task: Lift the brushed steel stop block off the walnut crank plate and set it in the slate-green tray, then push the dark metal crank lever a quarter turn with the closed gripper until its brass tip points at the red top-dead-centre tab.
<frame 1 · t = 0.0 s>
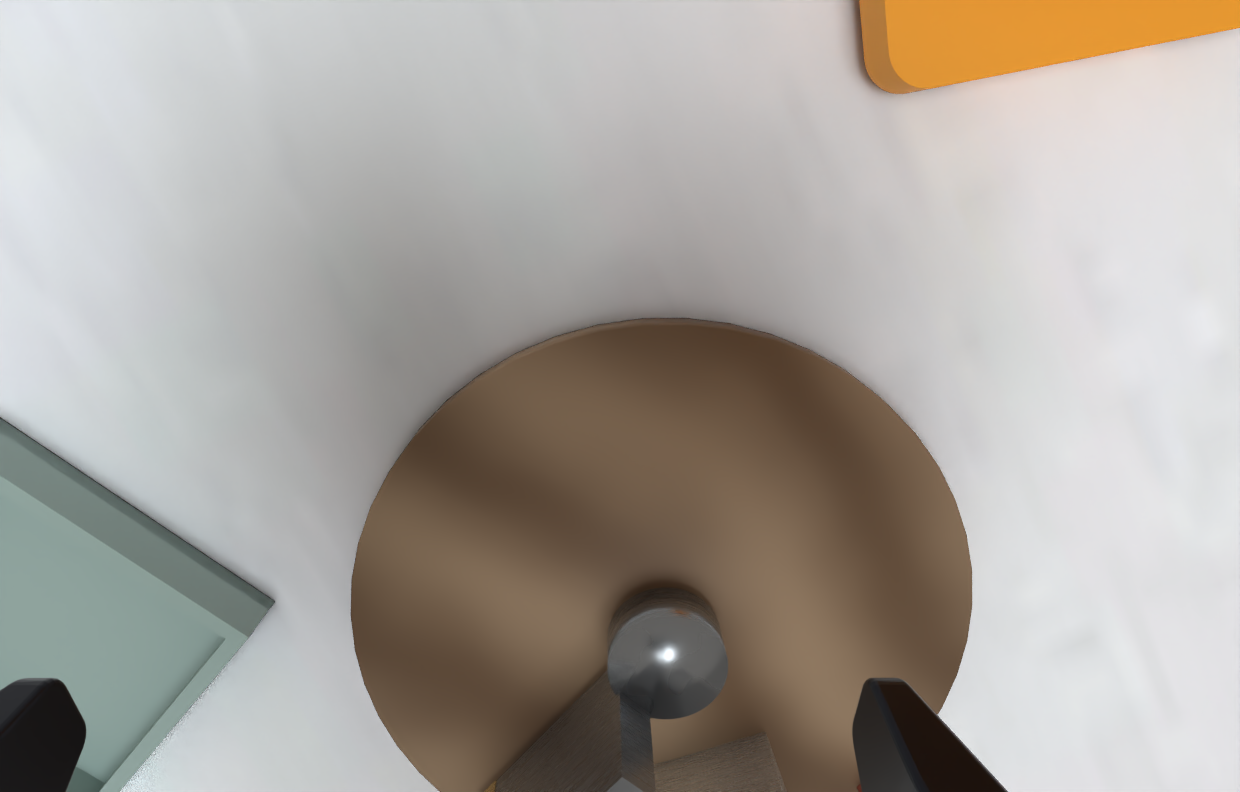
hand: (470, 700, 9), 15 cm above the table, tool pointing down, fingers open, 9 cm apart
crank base: (660, 610, 26), on the table
tray: (62, 617, 26), on the table
crank: (589, 767, 23), point 4 cm above the table, hinge at 0.0°
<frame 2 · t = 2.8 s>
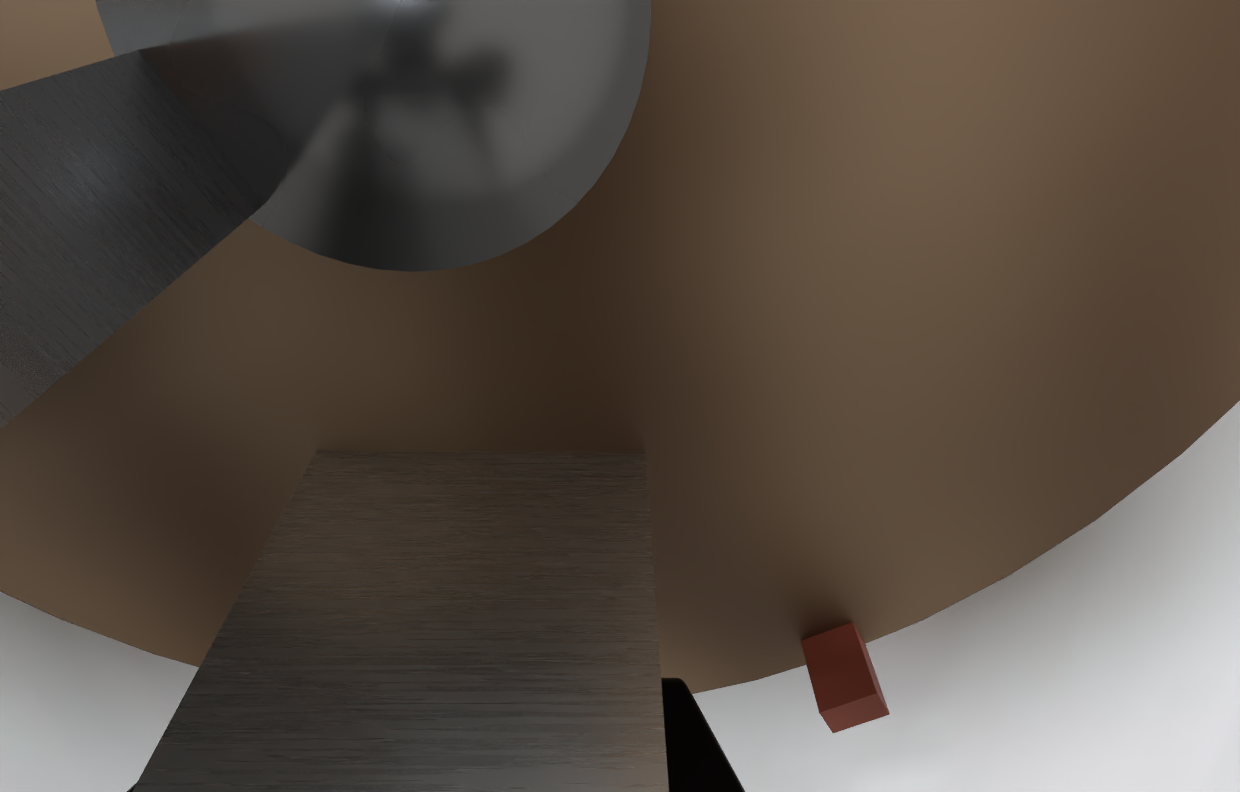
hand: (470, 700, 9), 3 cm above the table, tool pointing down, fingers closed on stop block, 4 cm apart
stop block: (492, 572, 11), point 1 cm above the table, touching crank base, gripper
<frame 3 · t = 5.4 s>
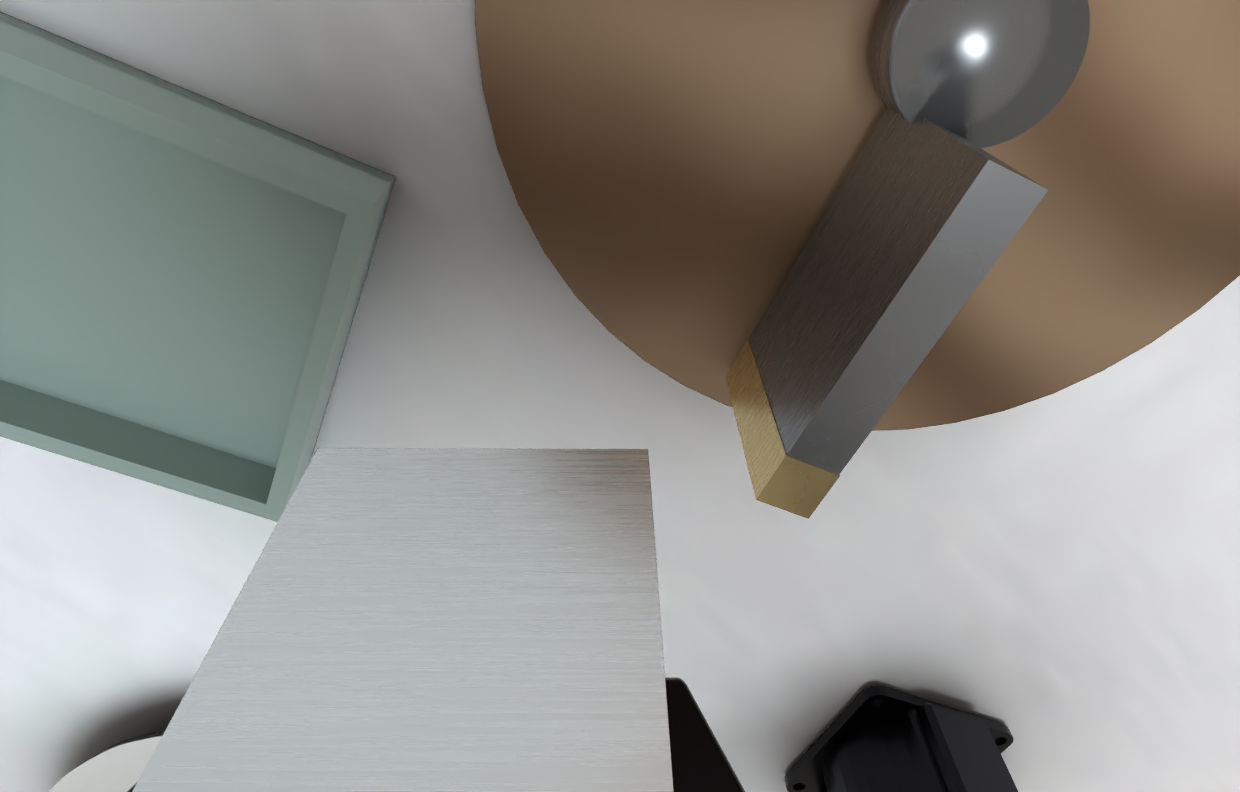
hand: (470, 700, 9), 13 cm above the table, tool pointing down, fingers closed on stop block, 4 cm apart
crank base: (933, 32, 17), on the table
tray: (153, 275, 20), on the table
stop block: (495, 569, 11), point 11 cm above the table, touching gripper
crank: (895, 236, 16), point 4 cm above the table, hinge at 0.0°
when the fingers open (4 cm above the table, at t = 8.3 s): stop block drops 1 cm, resting on tray.
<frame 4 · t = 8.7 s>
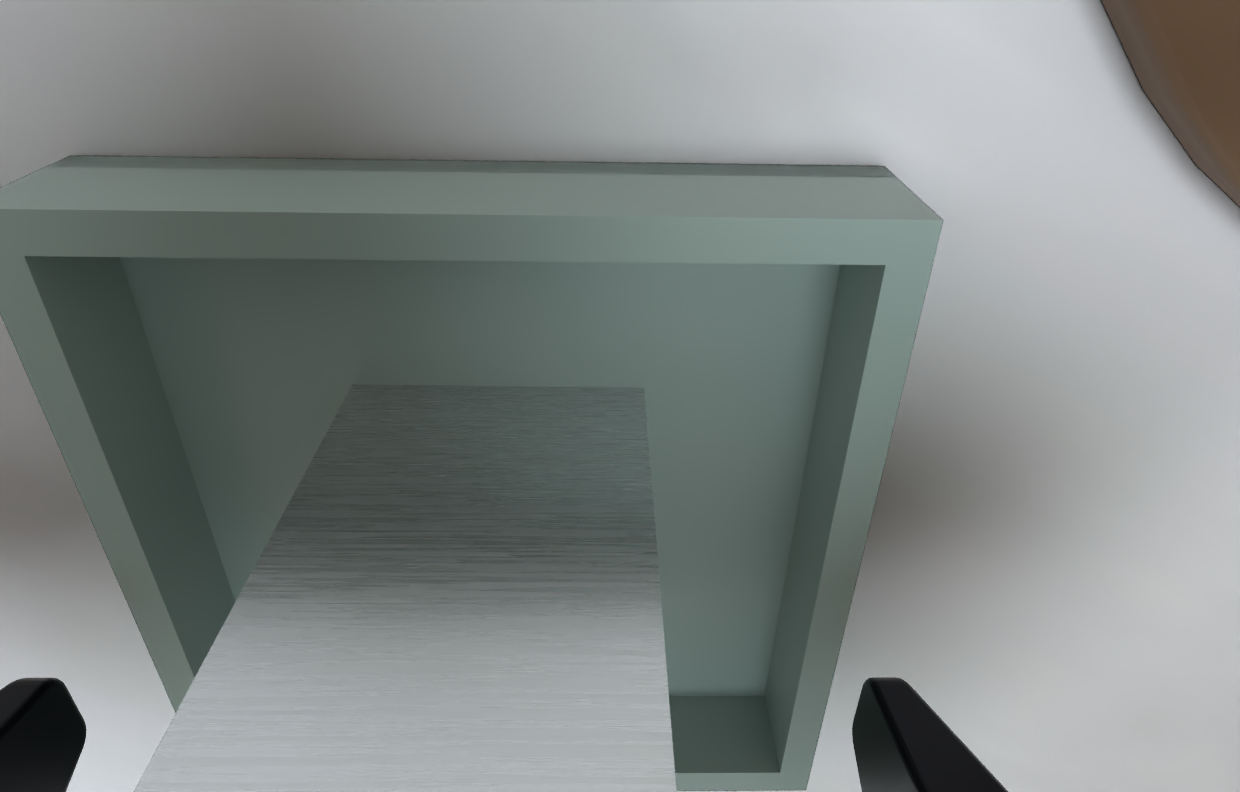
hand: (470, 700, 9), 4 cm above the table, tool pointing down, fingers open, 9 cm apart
tray: (506, 482, 12), on the table
stop block: (506, 499, 12), resting on tray
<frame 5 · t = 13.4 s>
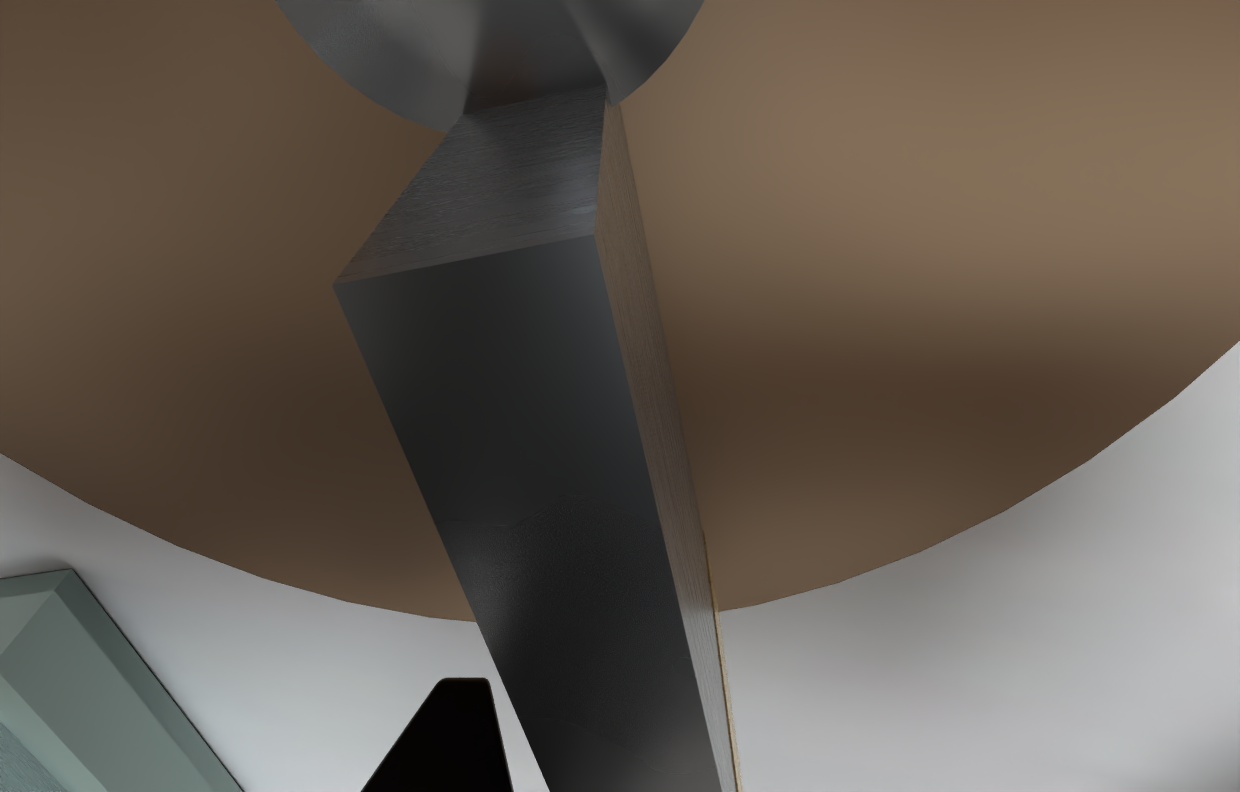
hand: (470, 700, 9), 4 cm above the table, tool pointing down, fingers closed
crank: (587, 375, 7), point 4 cm above the table, hinge at 0.7°, touching gripper
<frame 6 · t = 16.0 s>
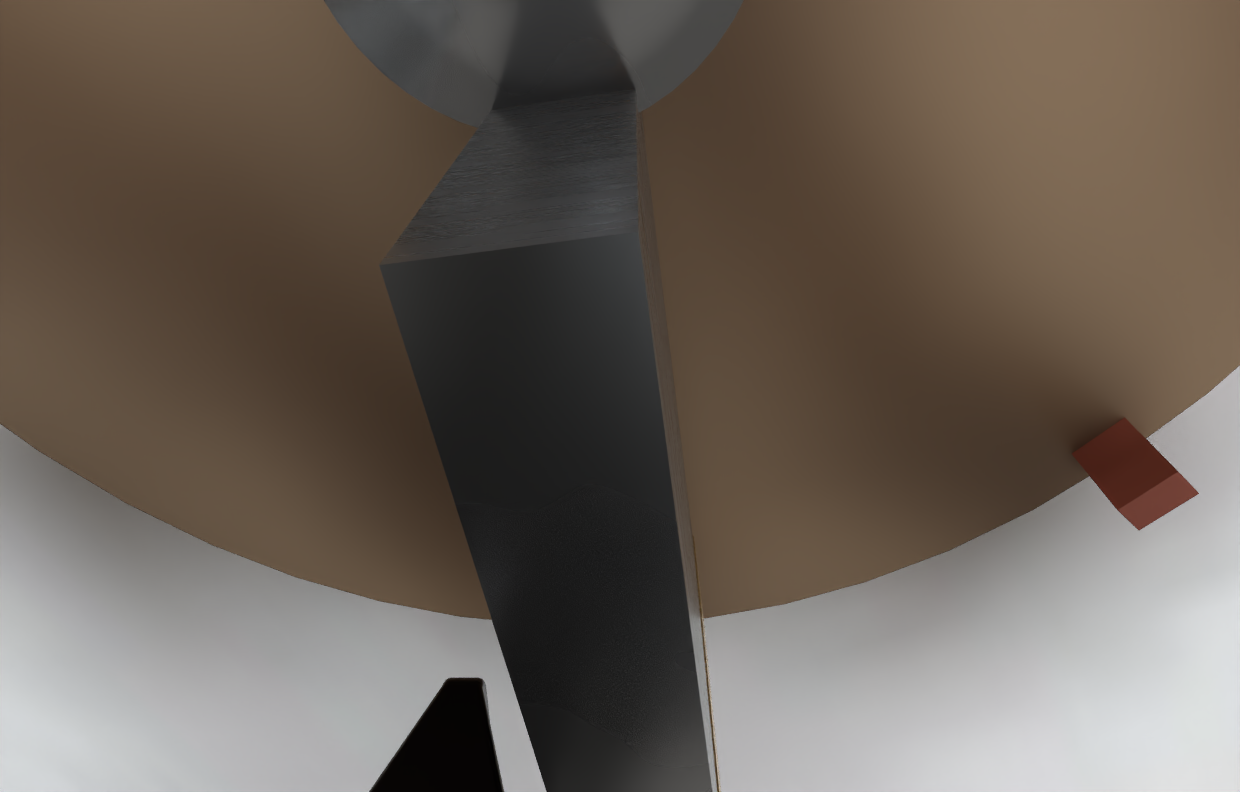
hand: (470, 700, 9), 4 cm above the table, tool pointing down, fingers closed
crank: (598, 373, 7), point 4 cm above the table, hinge at 49.1°, touching gripper
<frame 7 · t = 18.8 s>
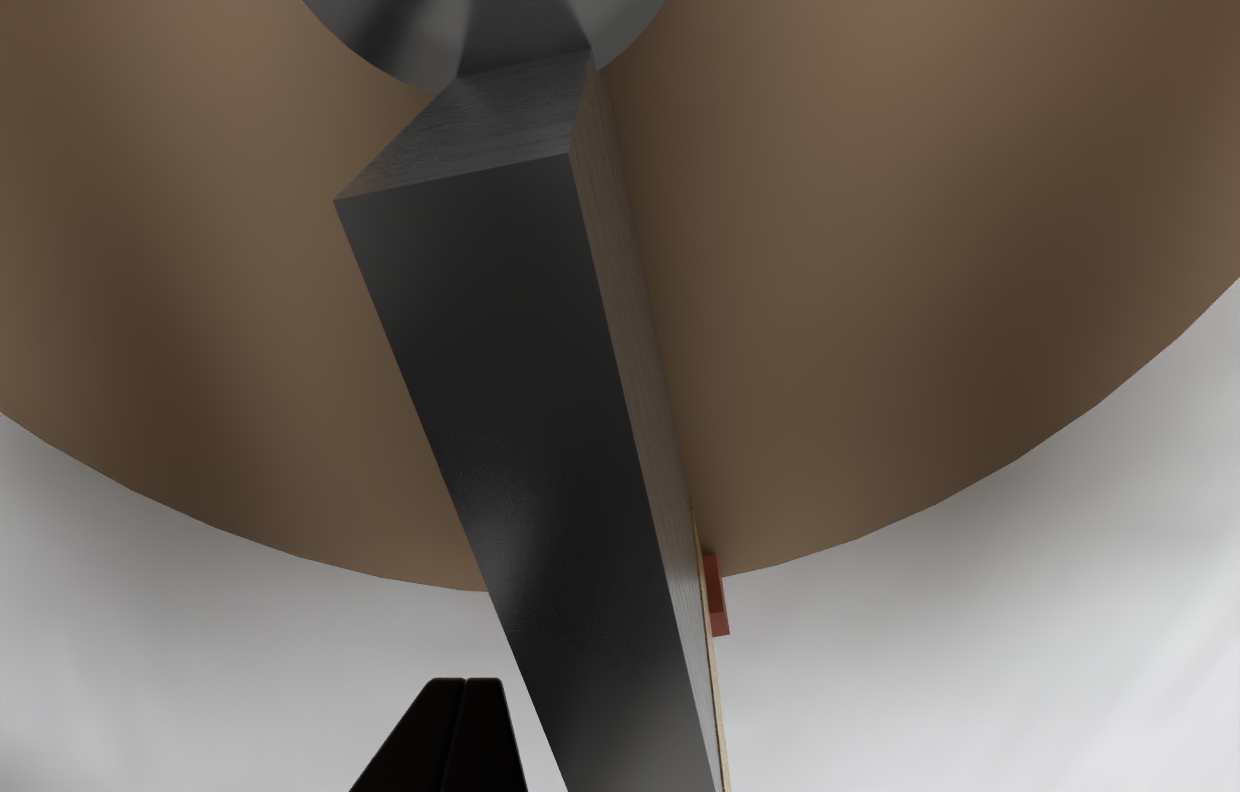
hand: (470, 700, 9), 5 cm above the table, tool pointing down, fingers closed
crank: (573, 325, 7), point 4 cm above the table, hinge at 87.5°, touching gripper
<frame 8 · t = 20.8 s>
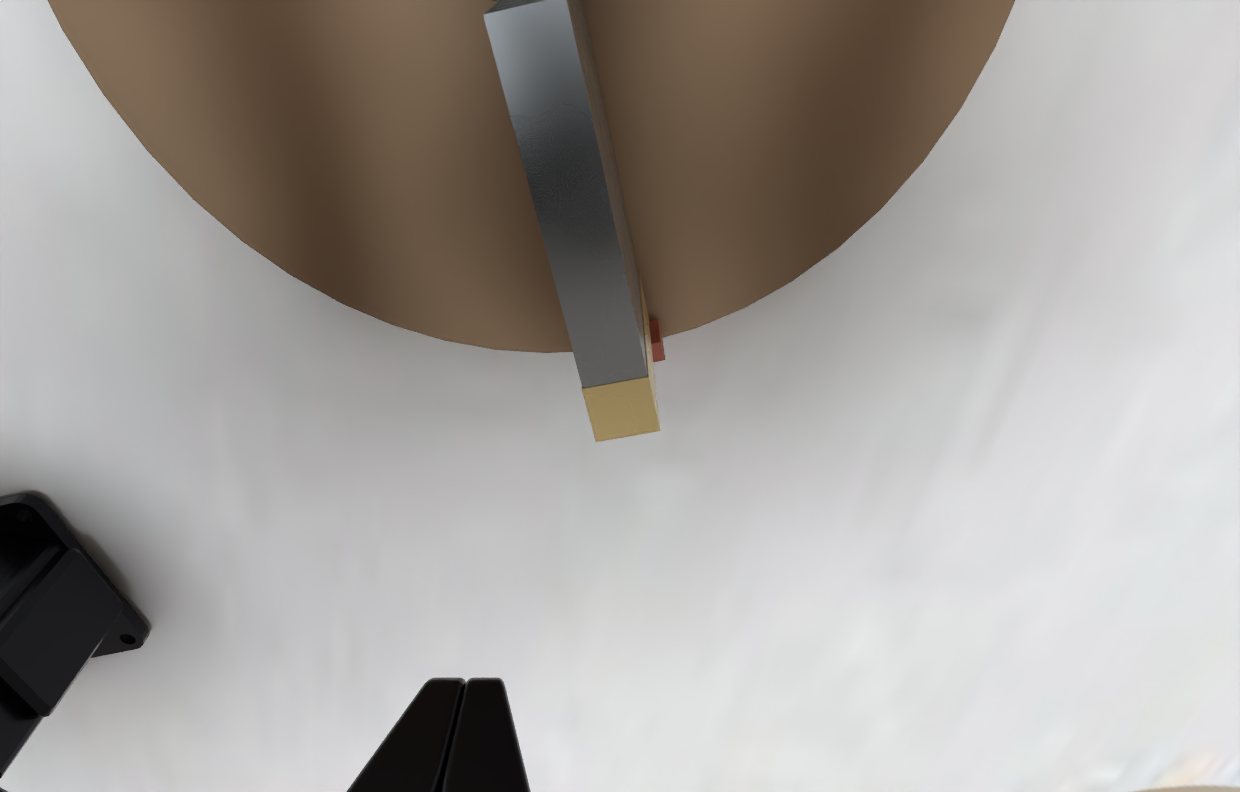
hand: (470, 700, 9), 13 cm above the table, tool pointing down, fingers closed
crank: (567, 117, 14), point 4 cm above the table, hinge at 87.5°
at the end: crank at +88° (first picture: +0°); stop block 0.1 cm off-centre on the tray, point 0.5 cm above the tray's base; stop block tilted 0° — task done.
